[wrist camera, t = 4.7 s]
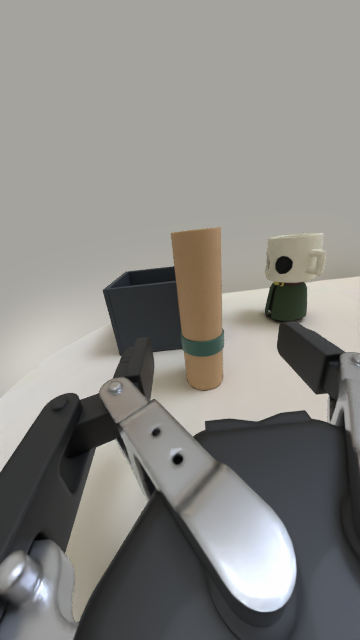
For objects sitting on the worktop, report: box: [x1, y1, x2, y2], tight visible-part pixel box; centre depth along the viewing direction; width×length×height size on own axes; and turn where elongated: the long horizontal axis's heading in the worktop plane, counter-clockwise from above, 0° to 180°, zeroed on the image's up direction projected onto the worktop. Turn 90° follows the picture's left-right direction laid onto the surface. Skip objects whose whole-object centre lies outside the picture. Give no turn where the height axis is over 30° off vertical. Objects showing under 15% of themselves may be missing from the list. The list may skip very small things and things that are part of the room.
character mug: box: [265, 233, 327, 321], centre depth 31 cm, size 11×7×13 cm, turn 15°
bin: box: [103, 266, 182, 355], centre depth 32 cm, size 14×13×10 cm
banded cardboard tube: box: [171, 227, 224, 390], centre depth 19 cm, size 4×4×15 cm
